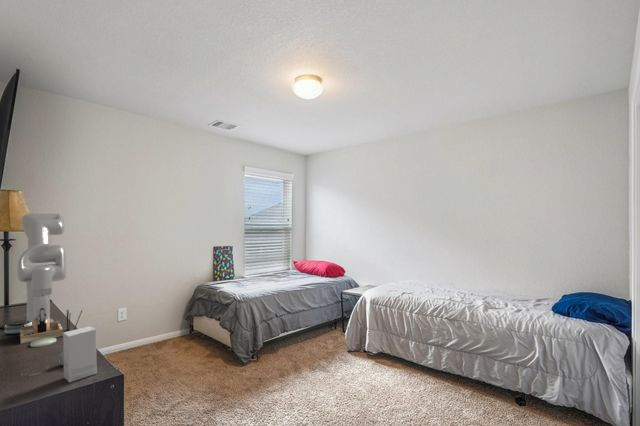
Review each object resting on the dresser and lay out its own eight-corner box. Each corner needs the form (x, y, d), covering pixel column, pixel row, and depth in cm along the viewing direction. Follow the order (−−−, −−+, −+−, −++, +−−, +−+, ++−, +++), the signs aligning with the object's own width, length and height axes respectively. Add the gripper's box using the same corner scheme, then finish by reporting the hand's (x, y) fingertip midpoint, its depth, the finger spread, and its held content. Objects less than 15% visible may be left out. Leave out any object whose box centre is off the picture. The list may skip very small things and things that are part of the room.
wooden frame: (20, 335, 160) (20, 327, 160) (59, 328, 170) (59, 320, 171) (20, 344, 148) (20, 334, 149) (63, 335, 159) (63, 327, 159)
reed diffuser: (57, 363, 126) (58, 309, 127) (80, 357, 131) (80, 306, 131) (60, 371, 118) (60, 314, 119) (84, 365, 123) (84, 310, 124)
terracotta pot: (33, 335, 160) (33, 311, 160) (49, 332, 164) (49, 309, 164) (33, 338, 155) (33, 313, 156) (50, 335, 159) (50, 311, 160)
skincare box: (91, 369, 119) (91, 325, 120) (97, 374, 115) (97, 328, 116) (62, 378, 113) (62, 331, 113) (68, 383, 109) (68, 335, 109)
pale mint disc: (29, 343, 149) (29, 341, 149) (55, 338, 155) (55, 336, 155) (30, 348, 142) (30, 346, 142) (57, 343, 148) (57, 341, 148)
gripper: (30, 291, 164) (30, 328, 163) (32, 296, 151) (31, 336, 151) (50, 289, 169) (50, 325, 168) (53, 293, 156) (53, 332, 156)
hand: (41, 330), depth 159 cm, fingers closed on terracotta pot, 6 cm apart
